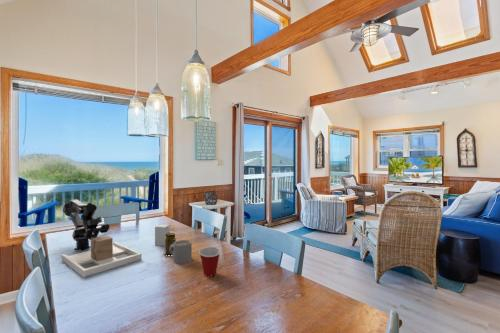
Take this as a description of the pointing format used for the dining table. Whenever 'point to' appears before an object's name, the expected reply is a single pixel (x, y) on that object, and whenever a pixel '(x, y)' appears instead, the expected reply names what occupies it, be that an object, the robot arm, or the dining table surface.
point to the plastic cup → (209, 260)
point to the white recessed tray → (91, 267)
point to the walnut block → (101, 247)
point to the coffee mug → (181, 251)
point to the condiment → (169, 243)
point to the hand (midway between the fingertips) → (95, 242)
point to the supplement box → (161, 234)
